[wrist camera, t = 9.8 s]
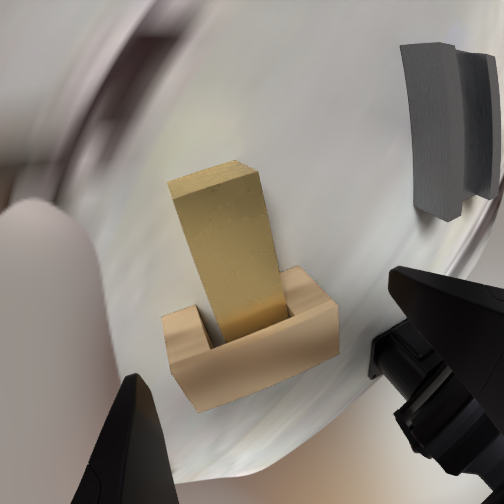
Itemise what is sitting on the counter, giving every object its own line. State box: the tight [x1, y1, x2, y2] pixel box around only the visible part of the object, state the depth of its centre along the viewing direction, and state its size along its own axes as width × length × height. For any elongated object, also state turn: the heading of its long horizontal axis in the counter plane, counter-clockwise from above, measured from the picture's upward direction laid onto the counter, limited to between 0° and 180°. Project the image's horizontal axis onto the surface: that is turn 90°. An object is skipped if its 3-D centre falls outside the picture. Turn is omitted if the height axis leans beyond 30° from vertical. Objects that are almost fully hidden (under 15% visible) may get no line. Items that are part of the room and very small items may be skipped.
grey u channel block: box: [400, 42, 501, 222], centre depth 17 cm, size 12×8×4 cm
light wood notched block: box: [161, 265, 339, 413], centre depth 17 cm, size 4×9×5 cm, turn 102°
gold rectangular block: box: [167, 160, 289, 344], centre depth 16 cm, size 12×4×4 cm, turn 13°
